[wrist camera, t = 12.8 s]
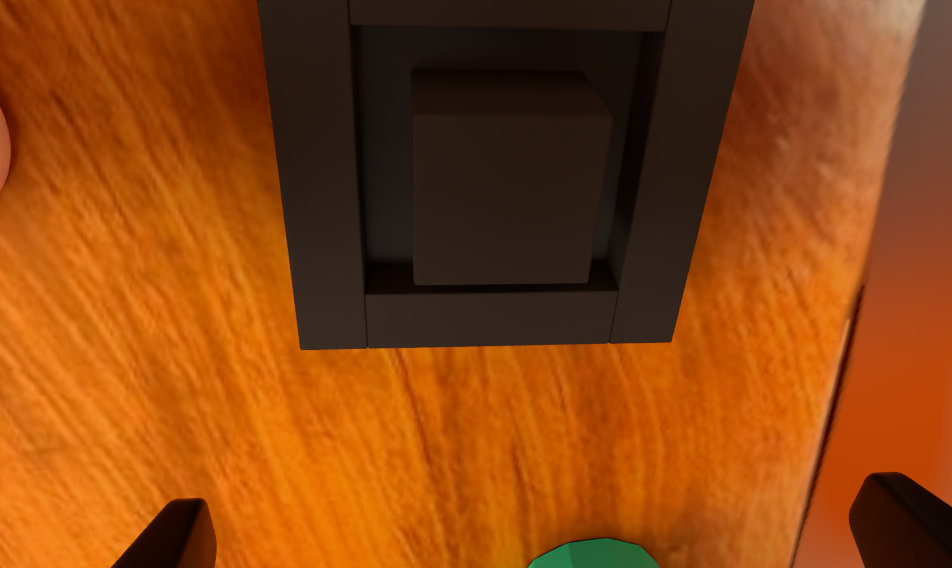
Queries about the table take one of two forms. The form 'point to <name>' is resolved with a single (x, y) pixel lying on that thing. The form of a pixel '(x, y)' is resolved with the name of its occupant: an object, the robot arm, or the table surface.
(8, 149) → the drinking glass
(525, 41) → the socket pad
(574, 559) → the candle
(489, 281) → the black block
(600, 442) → the table surface
